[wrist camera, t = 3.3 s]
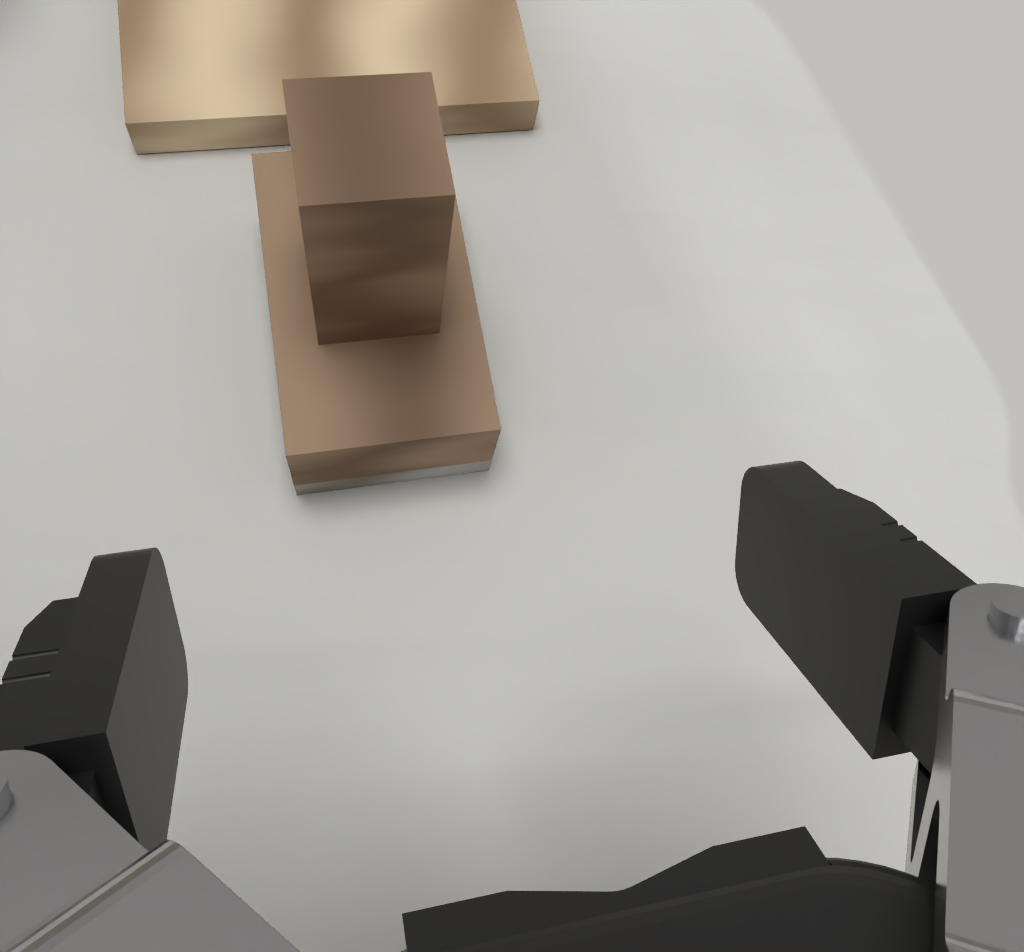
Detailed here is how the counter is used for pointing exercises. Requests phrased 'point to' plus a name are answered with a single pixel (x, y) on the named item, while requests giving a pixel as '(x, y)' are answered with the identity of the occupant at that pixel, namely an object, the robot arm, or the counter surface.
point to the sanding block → (371, 289)
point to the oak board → (312, 63)
